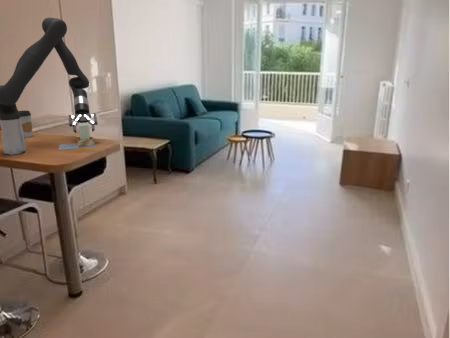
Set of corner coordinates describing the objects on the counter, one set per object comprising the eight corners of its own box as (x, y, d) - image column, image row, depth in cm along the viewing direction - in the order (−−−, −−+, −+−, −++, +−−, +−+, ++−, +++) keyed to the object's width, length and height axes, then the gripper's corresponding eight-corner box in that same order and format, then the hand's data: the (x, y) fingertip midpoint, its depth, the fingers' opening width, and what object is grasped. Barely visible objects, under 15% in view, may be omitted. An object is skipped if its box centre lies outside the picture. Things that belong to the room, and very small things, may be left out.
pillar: (81, 142, 196) (78, 125, 193) (81, 140, 200) (78, 124, 197) (90, 141, 197) (87, 125, 194) (89, 139, 201) (87, 123, 198)
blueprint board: (58, 151, 190) (58, 149, 189) (59, 145, 200) (59, 144, 200) (95, 148, 195) (95, 146, 195) (94, 142, 206) (94, 141, 206)
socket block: (78, 147, 194) (77, 141, 193) (78, 143, 201) (77, 138, 200) (93, 145, 197) (93, 139, 196) (93, 142, 204) (92, 136, 203)
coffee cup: (29, 134, 227) (25, 110, 222) (37, 136, 223) (33, 111, 218) (16, 137, 220) (11, 112, 215) (24, 138, 216) (19, 113, 211)
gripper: (66, 103, 197) (68, 128, 190) (94, 101, 201) (98, 126, 195) (68, 111, 203) (70, 136, 196) (95, 109, 208) (98, 134, 201)
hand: (84, 131), depth 195 cm, fingers open, 8 cm apart
